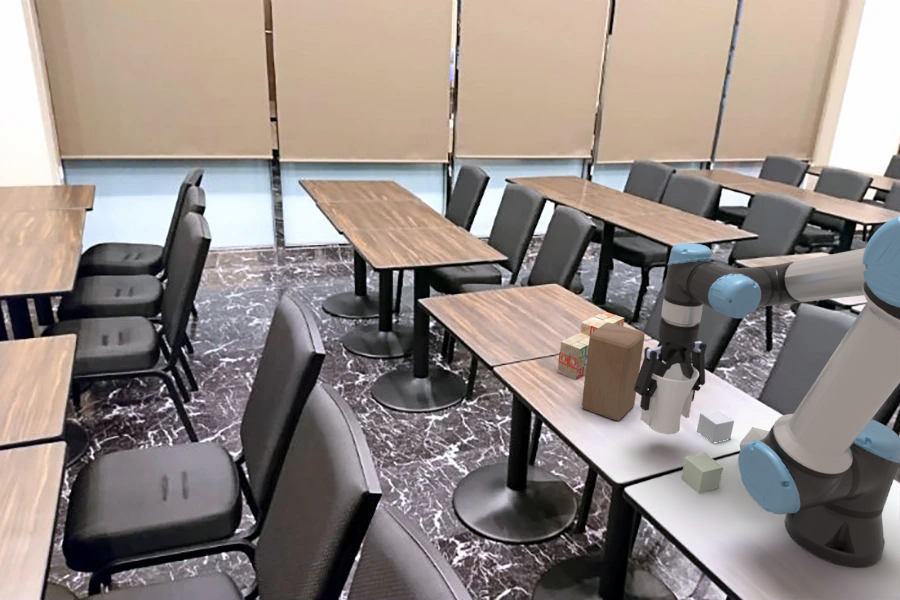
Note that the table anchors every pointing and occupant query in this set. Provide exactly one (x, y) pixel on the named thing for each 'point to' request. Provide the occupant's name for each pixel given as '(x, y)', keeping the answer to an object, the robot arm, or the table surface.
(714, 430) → the light gray cube
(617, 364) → the block
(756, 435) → the grey block
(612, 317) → the stack of blocks
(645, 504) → the table surface
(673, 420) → the cup
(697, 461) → the sage cube
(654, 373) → the robot arm
